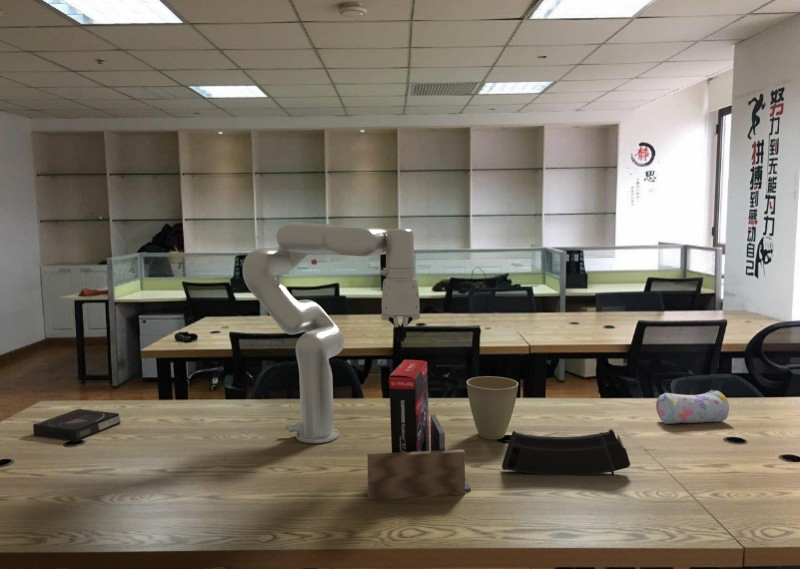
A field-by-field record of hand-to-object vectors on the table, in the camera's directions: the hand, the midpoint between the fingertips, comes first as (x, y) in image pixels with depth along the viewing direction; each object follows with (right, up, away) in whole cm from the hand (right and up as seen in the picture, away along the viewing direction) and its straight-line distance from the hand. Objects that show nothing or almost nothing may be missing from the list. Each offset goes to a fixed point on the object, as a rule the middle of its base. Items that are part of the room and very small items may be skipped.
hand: (400, 340), depth 164 cm
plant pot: (+27, -29, +11) cm, 41 cm away
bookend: (+12, -32, -20) cm, 39 cm away
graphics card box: (+3, -32, -17) cm, 36 cm away
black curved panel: (+41, -32, -17) cm, 54 cm away
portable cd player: (-100, -30, +21) cm, 106 cm away
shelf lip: (+4, -33, -28) cm, 43 cm away
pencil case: (+90, -28, +21) cm, 97 cm away
